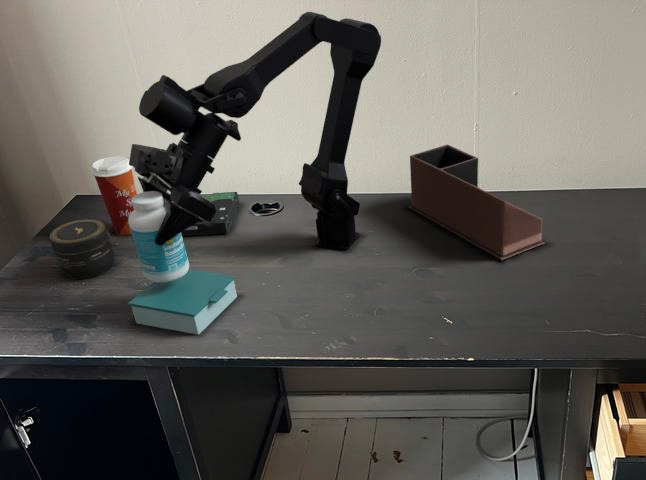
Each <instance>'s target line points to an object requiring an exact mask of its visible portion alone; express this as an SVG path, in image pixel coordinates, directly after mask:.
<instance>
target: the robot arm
mask: <svg viewBox="0 0 646 480" xmlns="http://www.w3.org/2000/svg"><path fill="white" fill-rule="evenodd" d="M322 42H324V43H328V44H330V51H329V55H330V59H331V65H332V68H333V78H332V83H331V87H330V93H329V98H328V102H327V108H326V112H325V117H324V122H323V127H322V131H321V136H320V143H319V146H318V151H317V155H316V157H315V158H314V160H313V161H312V162H311V163H310V164H309V163H306V162H305V163H303V165H302V171H301V173H302V174H301V178H300V180H299V182H298V185H299V186H300V194H301V196H302V197H303V199H304V200H305V201H306V202H307V203H310V205H311V208H313V209H314V210H317V212H316V219H315V227H316V233H317V234H316V235H317V240H318V241H317V242H316V244H315V245H316V247H319V248H320V247H321V248H327V249H334V250H341V251H348V250H349V249H350V248H351V247H352V245H354V243H355V242H356V241H357V240H358V238H359V237H360V236H361V234H360V232H357V231H356V230H357V229H356V219H355V216H358V215H359V213H360V208H361V203H360V202H359V201H357V200H356V199H354V198H352V197H351V196H350V195H348V187H349V179H348V175H347V170H346V169H347V168H346V163H345V162H346V157H347V153H348V147H349V143H350V138H351V134H352V129H353V124H354V119H355V115H356V110H357V105H358V101H359V97H360V92H361V89H362V83H363V81H364V78H365V77H366V76H367V75H368V73H369V72H371V70H372V69H373V67H374V66H375V63H376V60H377V58H378V55H379V52H380V49H381V45H382V35H381V34H380V32H379V29H378V28H377V27H376V26H375V25H374V24H372V23H369V22H365V21H361V20H357V19H353V18H342V19H340V20H337V19H333V18H329V17H328V16H326V15H325V14H322V13H317V12H313V11H306V12H304V13H302V14H301V15H300V16H299V17H298V19H297V20H296V21H294V23H292V24H290V26H288V27H287V28H286V29H285V30H283V31H282V32H281V33H280V34H278V35H277V36H275V37H274V38H273V39H271V41H269V42H268V43H267V44H265V45H264V46H263V47H262V48H261V47H260V49H259V50H258V51H256V52H255V53H253V54H252V55H251V56H250V57H248V58H246V59H245V60H243V61H241V62H238V63H234V64H231V65H227V66H225V67H223V68H221V69H219V70H217V71H215V72H214V73H211V74H210V75H209V76H208V77H207V78H206V79H205V81H204V82H203V83H201V84H199V85H196V86H194V87H192V88H189V89H187V90H186V89H185V88H184V87H182V86H180V85H179V84H178V83H177V82H176V81H175V80H174V79H173V78H171V77H170V76H168V75H165V74H162V75H161V77H160V78H159V80H158V81H156V82H154V83H152V84H151V86H149V88H147V90H145V91H144V92H143V94H142V97H141V99H140V102H139V105H138V111H139V114H140V115H141V116H142V117H144V118H145V119H146V120H149V121H150V122H151V123H153V124H155V125H156V126H158V127H159V128H161V129H163V130H164V131H166V132H168V133H169V134H171V135H173V136H179V135H181V134H182V133H183V134H182V136H181V137H180V140H178V143H175V142H172V143H169V144H168V146H167V148H166V149H164V148H158V147H155V146H149V145H143V144H139V143H137V144H136V143H132V144H131V149H130V154H129V159H128V160H129V165H130V166H133V167H132V168H134V170H133V171H134V172H136V173H137V174H138V175H139V176H137V180H138V182H139V183H140V186H141V189H142V193H143V192H148V191H156V192H160V193H161V194H162V196H163V199H164V204H165V205H166V209H167V212H166V215H165V217H164V219H163V222H162V224H161V226H160V229H159V231H158V233H157V236H156V239H155V243H156V244H158V245H160V246H161V245H163V244H164V243H166V242H167V241H169V240H170V239H172V238H173V237H175V236H176V235H178V234H179V233H181V232H182V231H184V230H186V229H187V228H189V227H191V226H192V225H194V224H196V223H198V222H200V223H201V222H202V221H203V220H202V219H204V220H206V221H208V222H211V220H212V219H213V217H214V215H215V213H216V209H215V204H214V203H212V202H211V201H209V200H208V199H207V198H205V197H204V196H202V195H203V194H202V193H203V191H202V190H201V189H200V188H199V187H200V185H201V183H202V182H203V179H204V178H205V176H206V174H207V173H209V174H210V175H213V173H214V172H215V169H216V167H213V166H212V164H213V162H214V160H215V159H216V157H217V155H218V154H219V152H220V150H221V148H222V147H223V144H224V143H225V141H226V140H227V138H228V136H229V137H230V138H232V139H234V140H236V141H237V142H240V141H241V140H242V136H241V133H240V131H239V123H238V122H237V121H235V120H233V119H240V118H243V117H244V116H247V114H249V112H250V111H251V110H252V109H253V108H254V107H255V105H256V104H257V103H258V102H259V101H260V100H261V98H262V95H263V93H264V91H265V89H266V88H267V87H268V85H269V84H270V83H271V82H272V81H274V80H275V79H277V78H278V77H279V76H280V75H282V73H284V72H285V71H286V70H288V69H289V68H290V67H291V66H293V65H294V64H295V63H296V62H298V61H299V60H300V59H301V58H303V57H304V56H305V55H307V53H309V52H310V51H312V50H313V49H315V47H317V46H318V45H319V44H320V43H322ZM200 108H202V109H203V110H206V111H208V113H206V114H204V113H202V112H201V111H199V110H200ZM218 114H223V115H224V116H226V117H229V118H233V119H229V120H225V119H223V118H222V117H221V116H219V115H218ZM200 217H201V218H202V219H201V218H200Z"/></svg>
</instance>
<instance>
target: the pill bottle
mask: <svg viewBox="0 0 646 480" xmlns="http://www.w3.org/2000/svg"><path fill="white" fill-rule="evenodd" d="M132 205H133V208H134V209H135V210H134V211H133V212H132V213H131V214H130V216H129V219H128V222H129V226H130V230H131V233H132V234H131V236H132V239H133V240H132V241H133V243H134V246H135V249H136V253H137V256H138V260H139V263H140V266H141V270H142V273H143V276H144V277H145V279H146V280H148V281H150V282H152V283H153V282H160V283H162V282H170V281H174V280H177V279H179V278H181V277H182V276H184V275H185V274H186V273H187V272H188V270H189V269H190V262H189V258H188V254H187V250H186V246H185V242H184V239H183V235H182V234H181V233H179V234H178V235H176V236H175V237H173V238H172V239H170V240H169V241H167V242H166V243H164V244H163V245H161V246H160V245H158V244H156V243H155V239H156V236H157V233H158V231H159V229H160V226H161V224H162V222H163V219H164V217H165V215H166V212H167V209H166V205H165V204H164V199H163V196H162V194H161V193H160V192H156V191H148V192H143V191H142V192H139V193H137V195H135V196H134V197H133V198H132Z"/></svg>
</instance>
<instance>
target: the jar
mask: <svg viewBox="0 0 646 480" xmlns="http://www.w3.org/2000/svg"><path fill="white" fill-rule="evenodd" d="M48 239H49V244H50V246H51V250H52V251H53V253H54V256H55V259H56V262H57V264H58V267H59V269H60V270H61V271H62V273H63V274H64V275H65V276H66V277H69V278H71V279H73V280H74V279H75V280H87V279H92V278H96V277H98V276H102V275H103V274H105V273H107V272H108V271H110V270H111V268H112V267H113V265H114V264H115V251H114V249H113V245H112V243H111V239H110V233H109V231H108V228H107V227H106V225H105V223H104V222H103V221H100V220H97V219H79V220H74V221H70V222H67V223H63V224H61V225H59V226H58V227H56V228H55V229H53V230H52V231H51V232H50V234H49V236H48Z"/></svg>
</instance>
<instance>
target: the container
mask: <svg viewBox="0 0 646 480" xmlns="http://www.w3.org/2000/svg"><path fill="white" fill-rule="evenodd" d="M235 279H236V277H235V275H229V274H222V273H216V272H211V271H210V272H209V271H203V270H197V269H191V268H189V270H188V272H187V273H186V274H185V275H184V276H182V277H181V278H179V279H177V280H174V281H170V282H162V283H160V282H152V283H151V284H150V285H148V286H147V287H145V288H144V290H142V291H141V292H140V293H139V294H138V295H136V296H135V297H134V298H132V300H130V301H129V302H128V306H130V308H131V310H132V313H133V316H134V320H135V323H136V324H139V325H144V326H149V327H155V328H159V329H165V330H170V331H177V332H180V333H181V332H182V333H186V334H191V335H197V336H199V335H200V334H201V333H202V332H203V331H204V330H206V328H207V327H208V326H210V324H212V322H214V321H215V320H216V319H217V317H218V316H220V314H221V313H222V312H224V311H225V310H226V308H228V307H229V306H230V304H232V303H233V302H234V301H235V300H236V299H237V298H238V295H237V289H236V285H235Z"/></svg>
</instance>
